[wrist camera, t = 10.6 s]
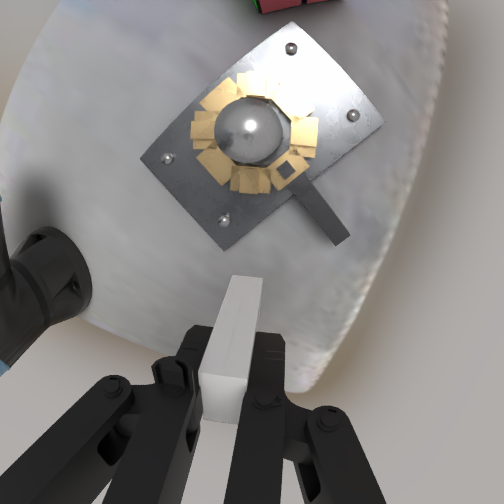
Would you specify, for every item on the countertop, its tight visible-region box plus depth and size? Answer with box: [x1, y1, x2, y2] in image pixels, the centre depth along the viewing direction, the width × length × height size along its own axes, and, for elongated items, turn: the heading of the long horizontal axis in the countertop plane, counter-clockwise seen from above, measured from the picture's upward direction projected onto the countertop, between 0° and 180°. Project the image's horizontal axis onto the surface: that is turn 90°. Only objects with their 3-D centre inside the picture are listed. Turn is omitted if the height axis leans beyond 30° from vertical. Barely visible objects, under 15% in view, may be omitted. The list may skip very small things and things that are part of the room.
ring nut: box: [190, 71, 350, 246], centre depth 25 cm, size 18×11×4 cm, turn 41°
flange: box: [140, 21, 385, 251], centre depth 23 cm, size 22×14×8 cm, turn 132°
